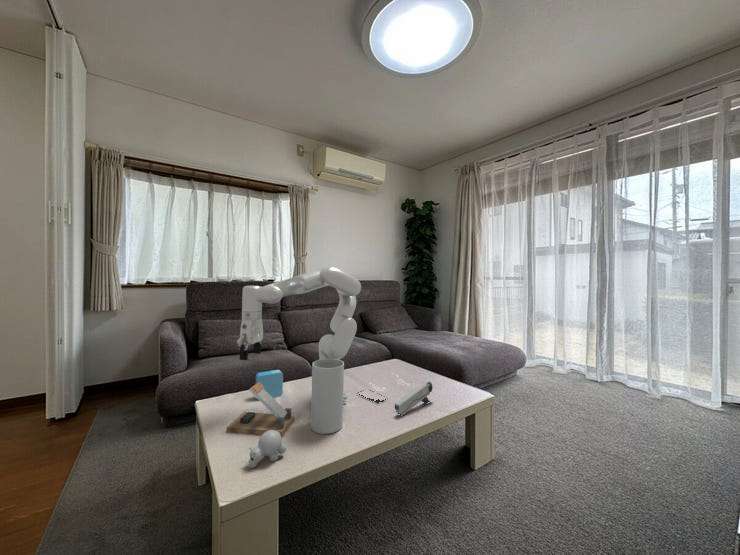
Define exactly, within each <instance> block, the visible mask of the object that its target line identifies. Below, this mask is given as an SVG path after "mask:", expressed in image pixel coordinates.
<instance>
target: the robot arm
mask: <svg viewBox="0 0 740 555" xmlns="http://www.w3.org/2000/svg"><path fill="white" fill-rule="evenodd" d="M327 286H330V287H332V288H335V289H336V291H337V293H338V296H339V302H338V305H337V308H336V309H335V312H334V314H333V316H332V319H331V321H330V325H329V326H330V327H329V328H330V330H331V332H333V333H334V334H329V333H327V334H325V335H322V337H321V338H320V339H319V342H318V354H319V358H318V359H319V360H321V359H337V360H341V359H343V358H344V357H345V356H346V355H347V353H349V352H348V351H349V350H350V347H351V346H352V343H353V340H354V338H355V336H356V334H357V330H358V328H357V327H358V325H357V322H356V320H355V319H354V318H353V317H354V313H355V310H356V308H357V307H356V306H357V297H356V296H357V295H359V293H361V291H362V284H361V282H360V281H359V280H358V279H357V278H356V277H353V275H349V274H348V273H346V272H344V271H342V270H340V269H339V268H337V267H332V266H331V267H329V266H328V267H323V268H320V269H319V268H318V269H315V270H313V271H309V272H305V273H301V274H299V275H295V276H293V277H289V278H287V279H283V280H279V281H276V282H273V283H270V284H266V285H264V286H260V285H245V286H243V287H242V297H241V298H242V300H241V301H242V302H241V305H242V306H241V324H240V330H239V331H240V332H239V338H238V339H237V340H236V344H237V348H238V351H239V360H241V361H247V360H248V359H249V358H248V357H249V355H248V354H249V350H248V347H249V345H253V349H252V350H253V351H252V352H253V354H257V355H261V353H262V343H263V342H262V341H263V340H264V327H263V326H264V325H263V319H262V313H263V312H262V310H263V303H266V304H277V303H278V302H280V301H281V300H282V298H284V297H287V296H291V295H302V294H307V293H309V292H312V291H315V290H318V289H321V288H325V287H327ZM348 398H349V397H348V395H347V393H344V392H343V401H344V400H348Z"/></svg>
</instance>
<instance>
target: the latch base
mask: <svg viewBox="0 0 740 555" xmlns="http://www.w3.org/2000/svg"><path fill="white" fill-rule="evenodd" d="M284 409H285V410H286V411H287V412H288V413H287V414H286V415H285V416H284V417H276V416H275V415H274V414H273V413H264V412H263V413H262V412H256V411H255V412H253V411H244V412H242V413H241V414H240V415H239V416H238V417H236V418H235V419H234V420H233V421H232V422H230V423H229V424H227V426H226V428H225V429H226V433H229V432H230V433H232V434H240V433H241V434H243V435H251V434H252V435H254V436H262V434H263V433H265V432H266V431H269V430H275V431H277V432H280V435H281V438H283V437H284V436H285V434H286V433H287V432H288V431H289V429H290V428H291V427H292V425H293V424H294V423H295V421H296V416H295V415H292V410H293V409H292V408H288V407H285V408H284ZM241 434H240V435H241Z"/></svg>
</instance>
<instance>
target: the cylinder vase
mask: <svg viewBox="0 0 740 555" xmlns="http://www.w3.org/2000/svg"><path fill="white" fill-rule="evenodd" d="M311 368H312V369H311V399H310V400H311V402H310V404H311V405H310V406H311V407H310V427H311V429H312V432H313V431H314V432H315V433H317V434H320V435H328V434H329V435H330V434H333V433H336V432H338V431H339V430H341V428H343V420H344V419H343V418H344V416H343V415H344V414H343V413H344V399H343V393H344V385H345V384H344V382H345V381H344V380H345V362H344V361H343V360H341V359H340V360H337V359H321V360H320V359H317V360H315V361H313V362H312V365H311Z"/></svg>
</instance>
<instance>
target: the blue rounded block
mask: <svg viewBox="0 0 740 555" xmlns="http://www.w3.org/2000/svg"><path fill="white" fill-rule="evenodd" d="M258 382H260V383H261V384H262V385H263V386H264V388H263V389H264V390H265V391H266V392H267V393H268V394H269V395H271V396H272V397H273V398H278V397H281V396H282V395H283V392H284V390H283V389H284V388H283V387H284V386H283V385H284V384H283V383H284V374H283V372H282V371H281V370H280V369H275V370H268V371H261V372H257V373H256V375H255V384H257V383H258ZM255 398H256V400H258V401H260V400H259V399H258V398H257V397H256V396H255Z"/></svg>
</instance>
